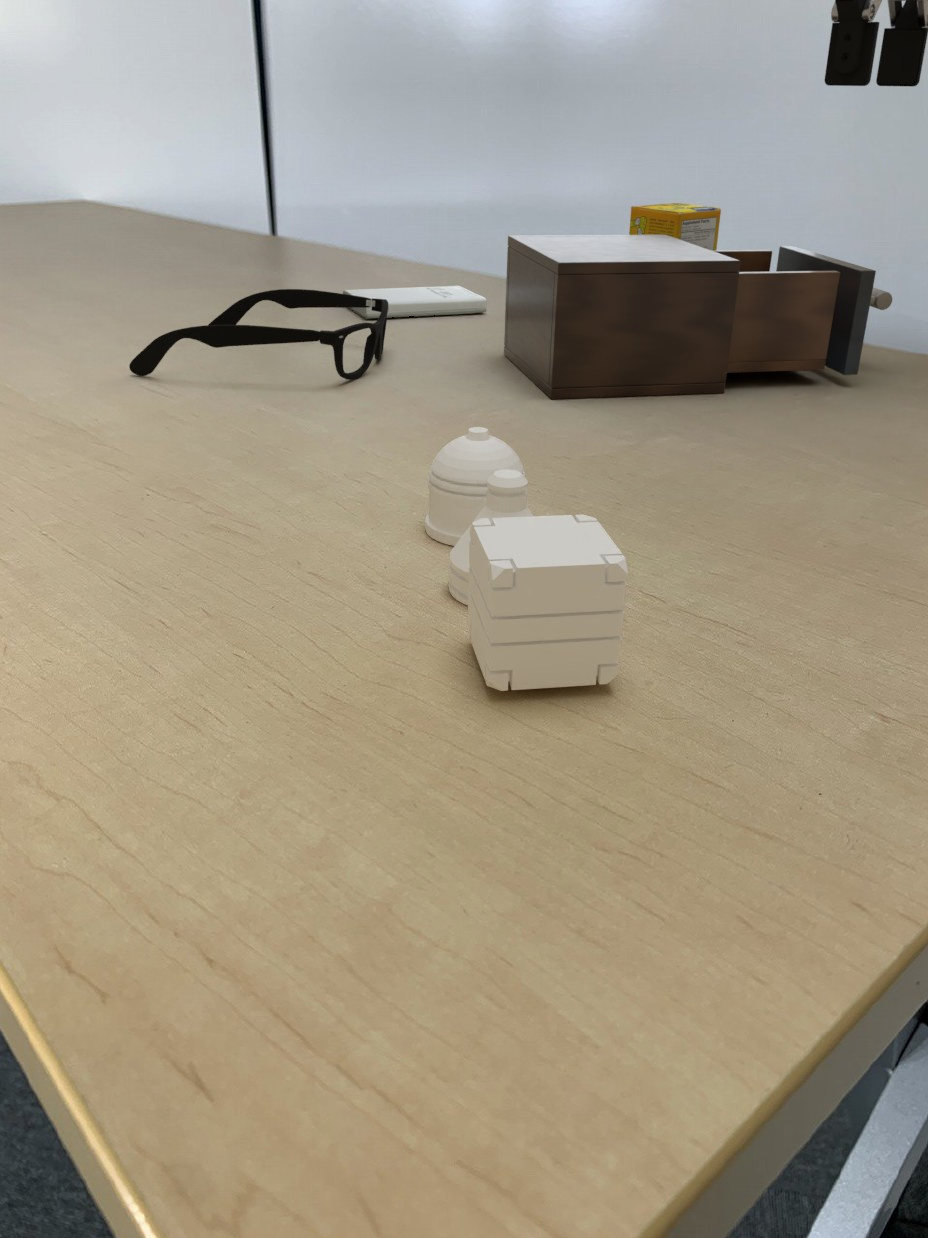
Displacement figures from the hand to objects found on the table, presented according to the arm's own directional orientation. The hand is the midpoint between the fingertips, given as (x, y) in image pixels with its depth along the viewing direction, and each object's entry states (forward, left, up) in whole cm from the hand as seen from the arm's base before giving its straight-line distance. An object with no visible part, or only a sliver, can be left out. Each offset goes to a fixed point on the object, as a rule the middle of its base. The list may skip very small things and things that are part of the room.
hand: (872, 85), depth 82 cm
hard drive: (+30, -28, -21) cm, 46 cm away
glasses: (+45, -7, -21) cm, 50 cm away
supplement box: (+8, -16, -21) cm, 28 cm away
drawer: (+5, 0, -20) cm, 21 cm away
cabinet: (+19, 0, -21) cm, 28 cm away
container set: (+37, +39, -21) cm, 58 cm away
